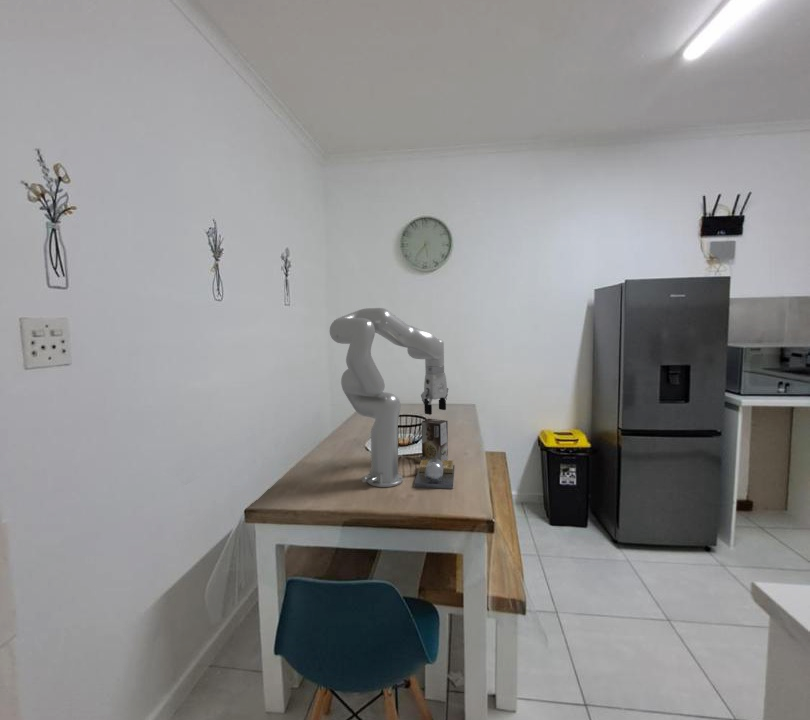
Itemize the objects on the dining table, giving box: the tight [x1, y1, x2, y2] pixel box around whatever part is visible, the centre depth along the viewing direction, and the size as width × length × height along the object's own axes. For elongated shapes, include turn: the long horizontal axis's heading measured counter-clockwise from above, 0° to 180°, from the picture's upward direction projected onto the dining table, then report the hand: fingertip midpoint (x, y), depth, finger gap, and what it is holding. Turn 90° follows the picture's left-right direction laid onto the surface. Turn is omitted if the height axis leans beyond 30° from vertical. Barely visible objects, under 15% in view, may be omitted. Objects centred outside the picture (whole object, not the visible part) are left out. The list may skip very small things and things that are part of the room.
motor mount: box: [414, 458, 455, 490], centre depth 153 cm, size 20×13×8 cm, turn 172°
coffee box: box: [421, 418, 449, 460], centre depth 172 cm, size 9×6×16 cm
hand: (435, 411), depth 172 cm, fingers open, 9 cm apart
